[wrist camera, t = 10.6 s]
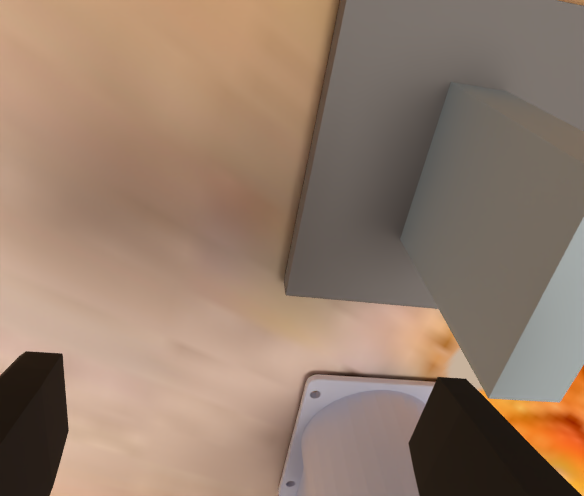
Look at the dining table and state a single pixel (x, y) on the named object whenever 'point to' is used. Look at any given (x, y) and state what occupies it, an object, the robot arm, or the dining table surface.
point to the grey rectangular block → (504, 240)
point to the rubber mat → (411, 125)
